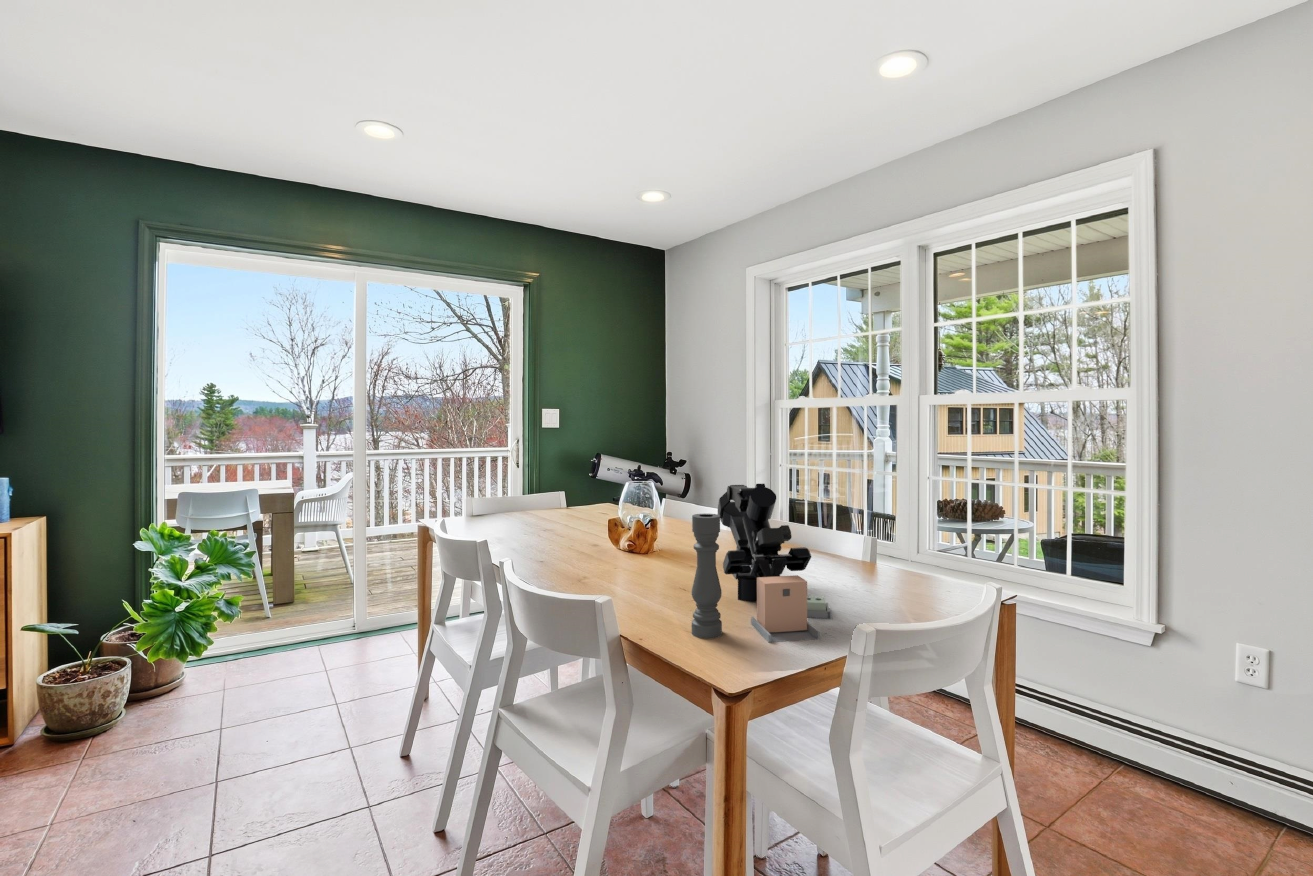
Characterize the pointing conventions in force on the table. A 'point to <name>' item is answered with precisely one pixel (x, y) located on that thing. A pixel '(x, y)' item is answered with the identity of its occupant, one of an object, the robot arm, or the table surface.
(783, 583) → the salmon pink box
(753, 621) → the grey tray
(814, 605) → the sage button
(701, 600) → the candle holder
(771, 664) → the table surface
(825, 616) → the button bezel
